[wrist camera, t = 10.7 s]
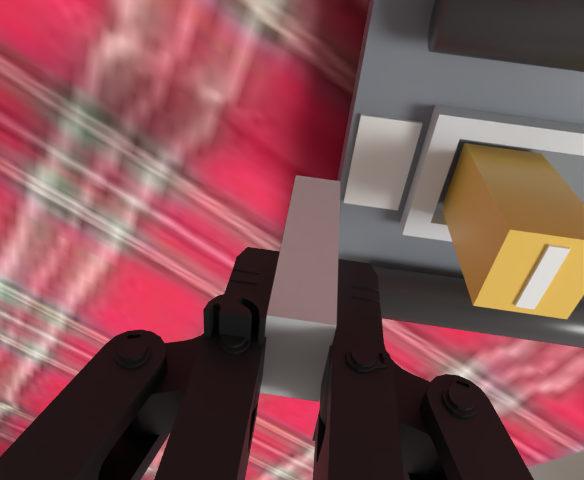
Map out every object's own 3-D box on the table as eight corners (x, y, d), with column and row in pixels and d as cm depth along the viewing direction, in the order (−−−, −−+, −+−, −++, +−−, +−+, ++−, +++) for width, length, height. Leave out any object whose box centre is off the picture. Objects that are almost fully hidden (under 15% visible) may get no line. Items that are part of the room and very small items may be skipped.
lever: (441, 207, 19) (473, 307, 14) (464, 142, 17) (510, 231, 12) (511, 217, 19) (568, 321, 14) (541, 153, 17) (619, 246, 12)
